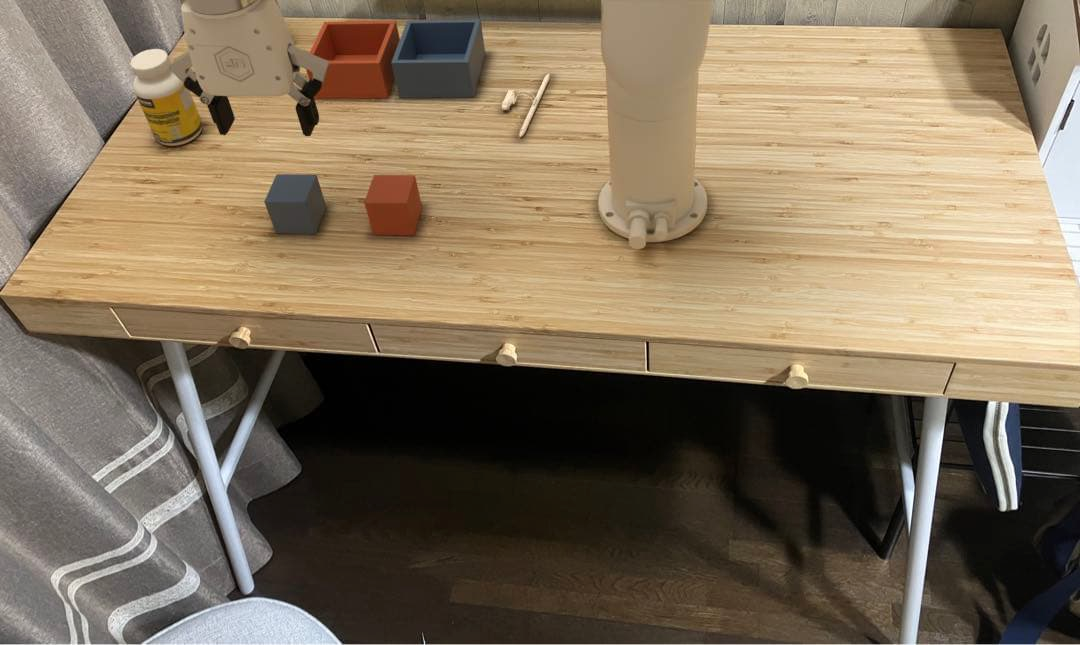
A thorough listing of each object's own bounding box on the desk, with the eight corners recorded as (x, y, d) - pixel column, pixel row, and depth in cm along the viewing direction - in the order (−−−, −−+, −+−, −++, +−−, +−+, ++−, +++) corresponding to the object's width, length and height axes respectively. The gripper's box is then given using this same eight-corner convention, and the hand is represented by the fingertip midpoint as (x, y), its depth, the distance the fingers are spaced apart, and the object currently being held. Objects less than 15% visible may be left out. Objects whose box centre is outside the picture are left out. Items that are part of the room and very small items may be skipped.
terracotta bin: (387, 98, 137) (379, 62, 133) (314, 98, 139) (304, 63, 135) (403, 55, 144) (395, 20, 140) (333, 56, 146) (324, 21, 142)
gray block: (316, 234, 120) (305, 202, 116) (275, 233, 120) (263, 201, 117) (326, 206, 123) (316, 174, 119) (287, 205, 124) (276, 173, 120)
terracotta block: (414, 235, 118) (406, 203, 114) (372, 235, 119) (363, 202, 115) (422, 207, 121) (415, 174, 118) (382, 206, 122) (373, 174, 118)
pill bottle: (146, 142, 135) (111, 68, 127) (176, 115, 139) (145, 41, 131) (183, 152, 133) (151, 77, 125) (213, 124, 137) (184, 49, 128)
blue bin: (474, 97, 136) (468, 61, 132) (399, 98, 137) (391, 62, 133) (485, 54, 143) (480, 19, 139) (414, 55, 144) (407, 20, 140)
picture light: (523, 139, 129) (521, 125, 127) (490, 136, 130) (488, 122, 128) (551, 76, 138) (550, 63, 136) (521, 74, 139) (519, 60, 137)
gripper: (126, 6, 98) (184, 147, 111) (296, 6, 96) (335, 150, 109) (154, -32, 103) (207, 107, 116) (317, -33, 101) (352, 109, 114)
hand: (269, 128), depth 112 cm, fingers open, 9 cm apart
